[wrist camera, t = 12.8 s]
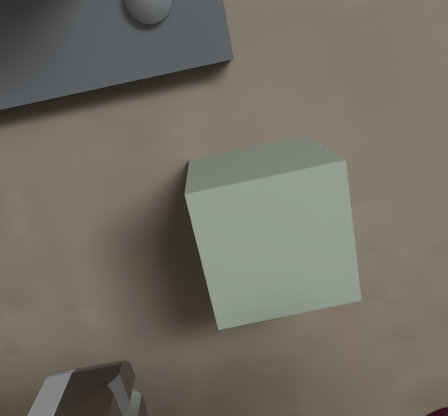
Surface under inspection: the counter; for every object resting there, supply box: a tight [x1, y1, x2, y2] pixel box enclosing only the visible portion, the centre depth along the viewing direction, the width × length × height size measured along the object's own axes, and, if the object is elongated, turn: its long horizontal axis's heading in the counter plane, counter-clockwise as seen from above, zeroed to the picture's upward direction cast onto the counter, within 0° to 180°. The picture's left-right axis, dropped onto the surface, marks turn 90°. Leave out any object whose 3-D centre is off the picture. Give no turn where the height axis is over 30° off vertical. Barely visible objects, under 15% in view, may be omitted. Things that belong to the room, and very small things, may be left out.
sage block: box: [185, 135, 361, 330], centre depth 16 cm, size 5×5×5 cm
